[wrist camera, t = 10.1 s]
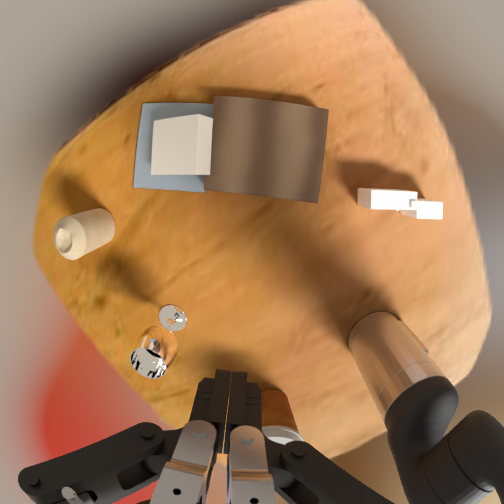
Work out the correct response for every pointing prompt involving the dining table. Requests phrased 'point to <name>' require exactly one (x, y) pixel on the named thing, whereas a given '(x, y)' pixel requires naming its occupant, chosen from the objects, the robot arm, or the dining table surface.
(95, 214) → the candle
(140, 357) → the wineglass
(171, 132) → the white block
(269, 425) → the disposable coffee cup
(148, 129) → the mat
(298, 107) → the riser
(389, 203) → the napkin holder
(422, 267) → the dining table surface
